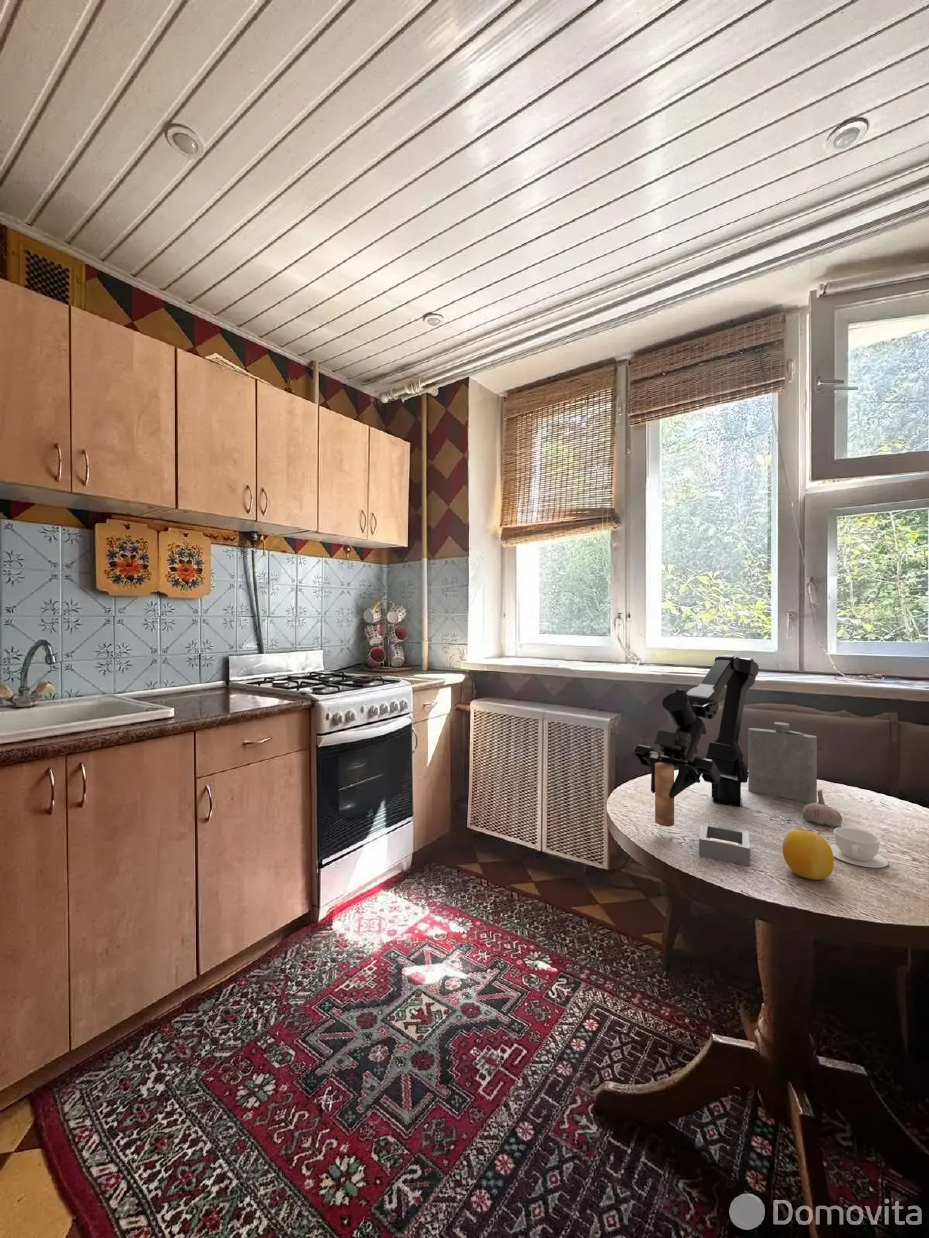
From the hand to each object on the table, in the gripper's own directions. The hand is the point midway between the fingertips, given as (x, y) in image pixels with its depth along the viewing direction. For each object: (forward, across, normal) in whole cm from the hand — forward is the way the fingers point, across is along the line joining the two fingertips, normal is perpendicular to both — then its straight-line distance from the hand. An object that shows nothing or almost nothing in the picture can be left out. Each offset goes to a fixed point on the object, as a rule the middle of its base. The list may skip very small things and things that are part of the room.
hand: (661, 794), depth 111 cm
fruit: (+3, +26, +11) cm, 29 cm away
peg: (+4, 0, +6) cm, 7 cm away
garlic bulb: (-19, +20, +33) cm, 43 cm away
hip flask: (-28, +7, +42) cm, 51 cm away
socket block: (+4, +12, +9) cm, 16 cm away
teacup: (-9, +30, +22) cm, 39 cm away
